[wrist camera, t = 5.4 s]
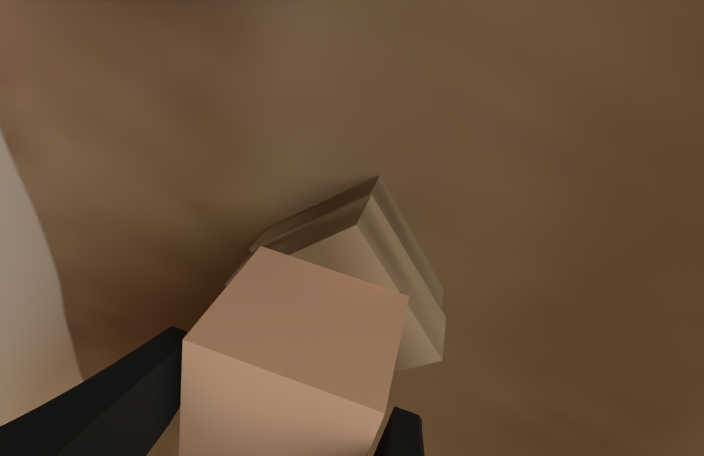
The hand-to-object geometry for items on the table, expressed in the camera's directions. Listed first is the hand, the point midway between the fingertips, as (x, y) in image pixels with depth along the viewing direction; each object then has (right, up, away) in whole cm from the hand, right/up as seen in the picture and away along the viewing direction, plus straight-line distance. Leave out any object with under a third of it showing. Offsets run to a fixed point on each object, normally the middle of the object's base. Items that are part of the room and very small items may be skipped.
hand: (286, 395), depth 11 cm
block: (+1, +1, +3) cm, 3 cm away
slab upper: (+2, +2, +4) cm, 5 cm away
